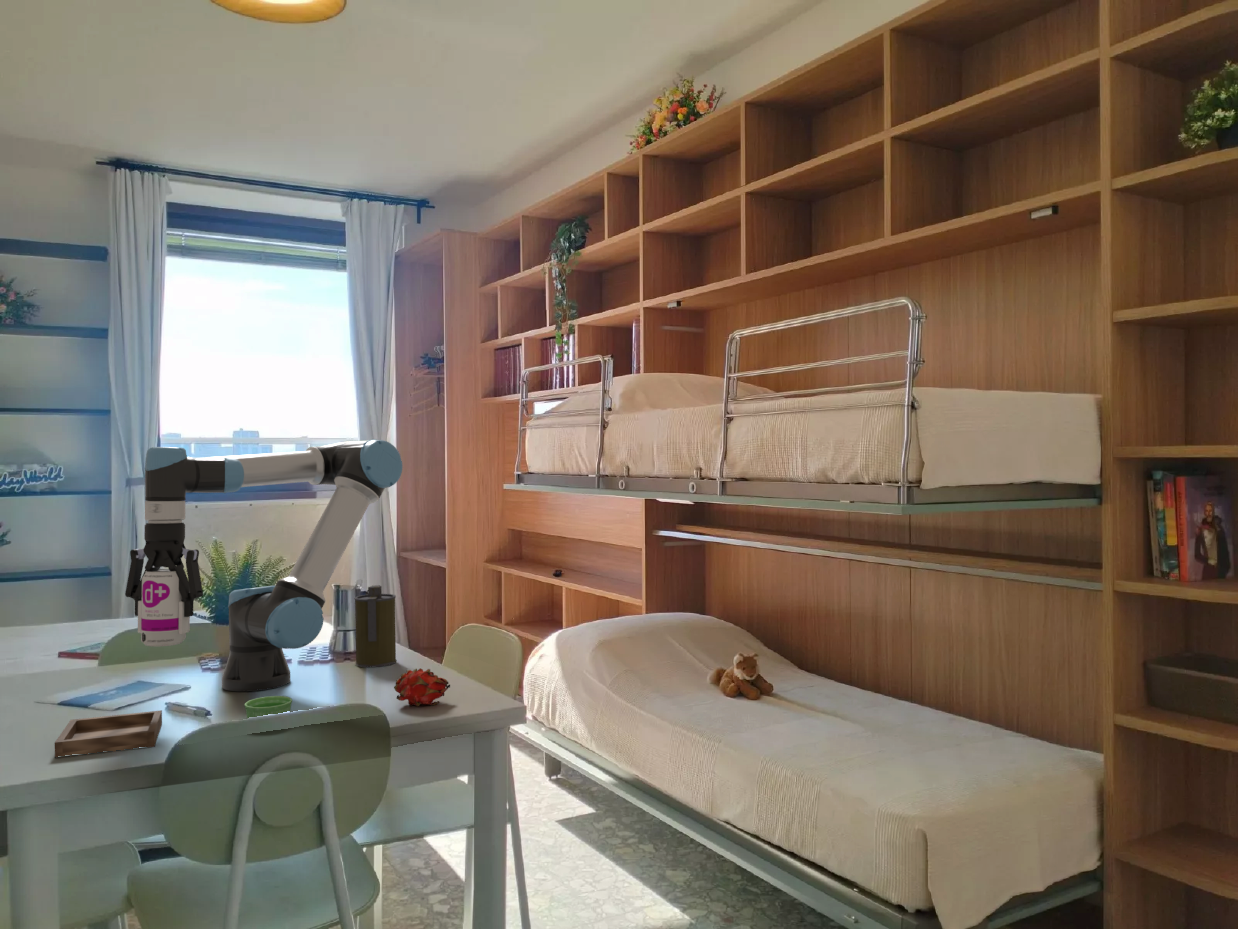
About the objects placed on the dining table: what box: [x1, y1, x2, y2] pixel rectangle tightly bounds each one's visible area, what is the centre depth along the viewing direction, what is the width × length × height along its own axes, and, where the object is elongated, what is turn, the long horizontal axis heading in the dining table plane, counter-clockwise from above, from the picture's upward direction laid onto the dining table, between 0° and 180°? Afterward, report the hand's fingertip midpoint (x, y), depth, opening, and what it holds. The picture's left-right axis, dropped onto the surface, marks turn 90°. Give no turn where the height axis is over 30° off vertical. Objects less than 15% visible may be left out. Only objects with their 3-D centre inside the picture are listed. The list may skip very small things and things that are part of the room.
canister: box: [354, 584, 397, 669], centre depth 239 cm, size 11×10×20 cm
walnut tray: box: [54, 710, 163, 758], centre depth 175 cm, size 16×16×3 cm
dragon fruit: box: [393, 668, 451, 707], centre depth 198 cm, size 8×8×12 cm
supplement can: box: [140, 568, 187, 647], centre depth 189 cm, size 8×8×15 cm
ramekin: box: [244, 695, 293, 719], centre depth 186 cm, size 9×9×4 cm
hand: (163, 632), depth 189 cm, fingers closed on supplement can, 8 cm apart
